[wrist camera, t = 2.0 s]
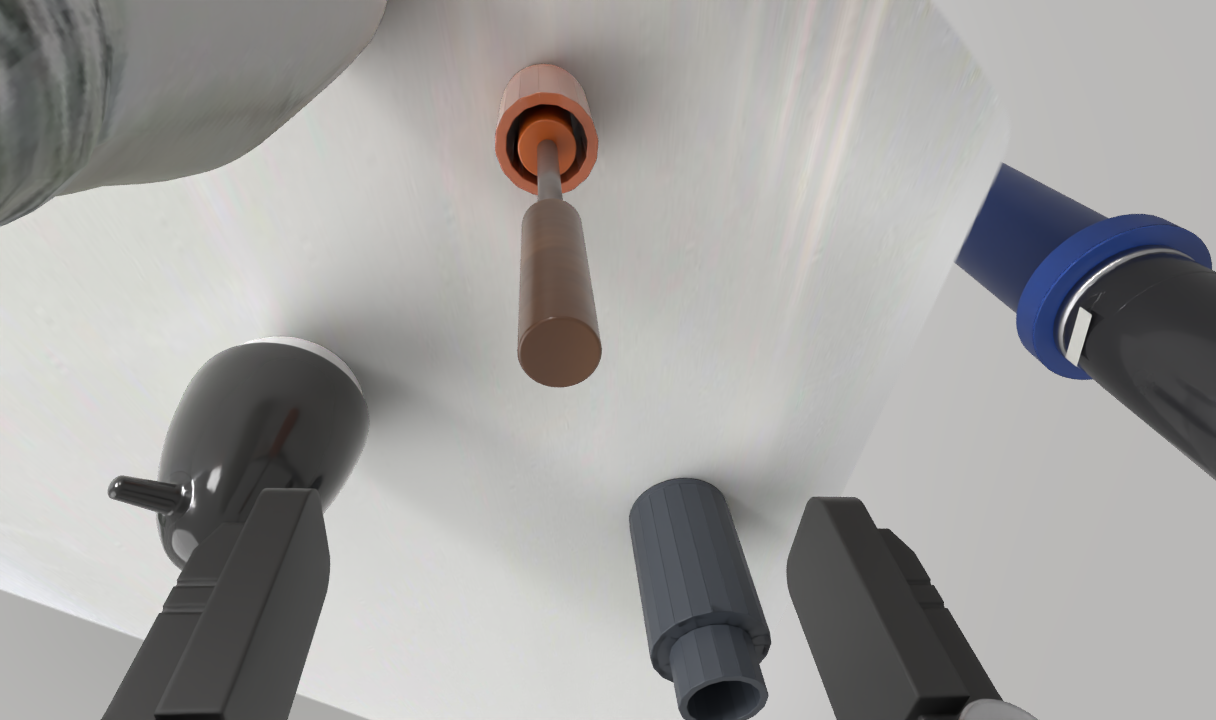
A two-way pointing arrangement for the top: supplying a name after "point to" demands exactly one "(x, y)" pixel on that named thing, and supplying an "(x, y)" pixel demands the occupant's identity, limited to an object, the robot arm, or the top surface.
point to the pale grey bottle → (157, 85)
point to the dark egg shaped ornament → (252, 438)
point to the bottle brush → (554, 261)
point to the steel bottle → (699, 601)
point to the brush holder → (548, 89)
